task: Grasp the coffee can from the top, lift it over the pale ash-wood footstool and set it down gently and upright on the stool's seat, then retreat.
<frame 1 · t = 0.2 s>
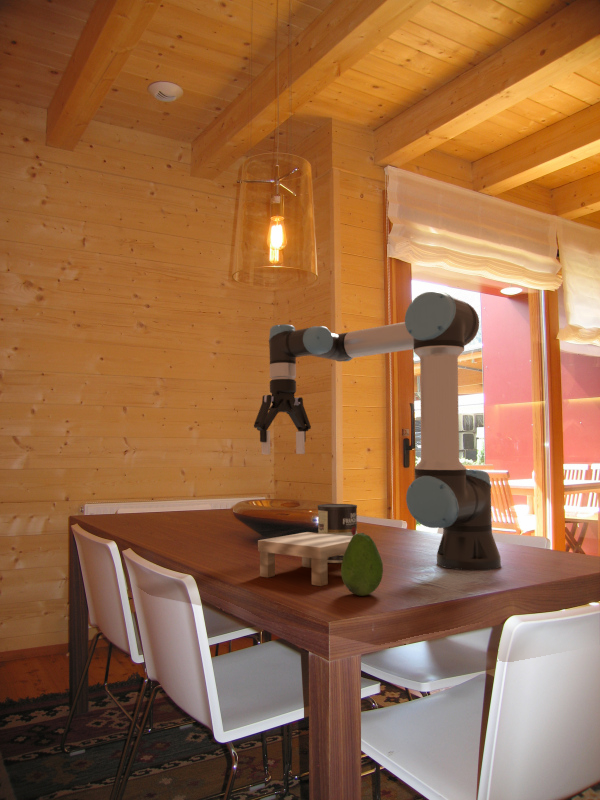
hand: (283, 454, 173), 27 cm above the table, tool pointing down, fingers open, 13 cm apart
fruit: (362, 596, 119), on the table
footstool: (313, 574, 140), on the table
coffee can: (338, 560, 159), on the table
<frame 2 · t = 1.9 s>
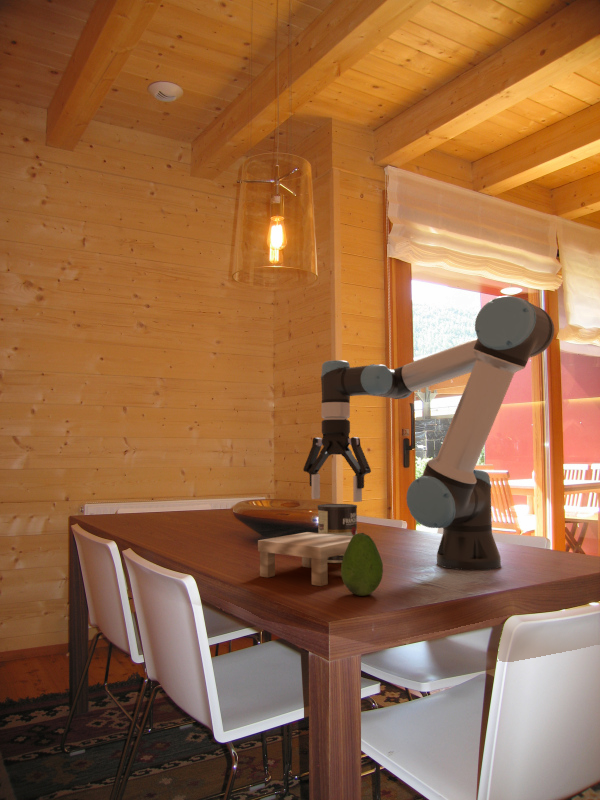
hand: (336, 500, 160), 15 cm above the table, tool pointing down, fingers open, 13 cm apart
nothing on the table moved.
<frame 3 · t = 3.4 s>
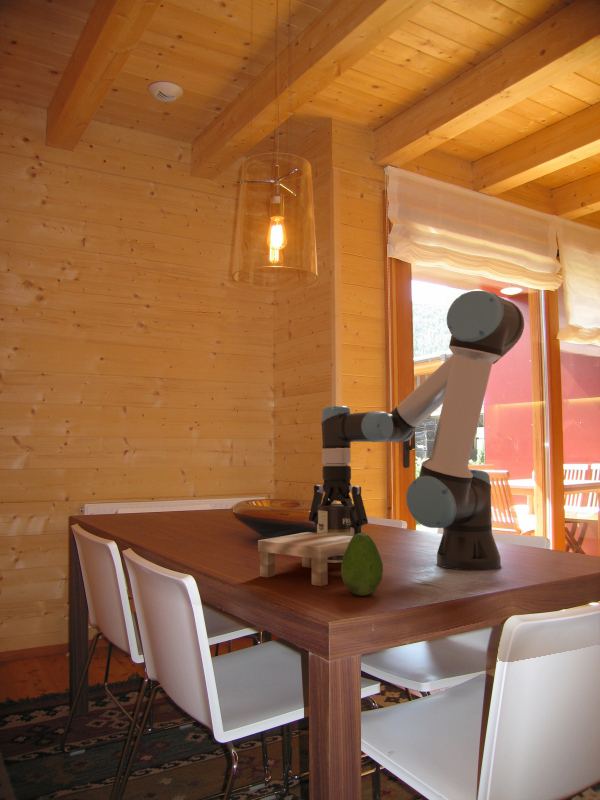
hand: (337, 550, 159), 2 cm above the table, tool pointing down, fingers closed on coffee can, 10 cm apart
coffee can: (338, 560, 159), on the table, touching gripper
everything else where it was.
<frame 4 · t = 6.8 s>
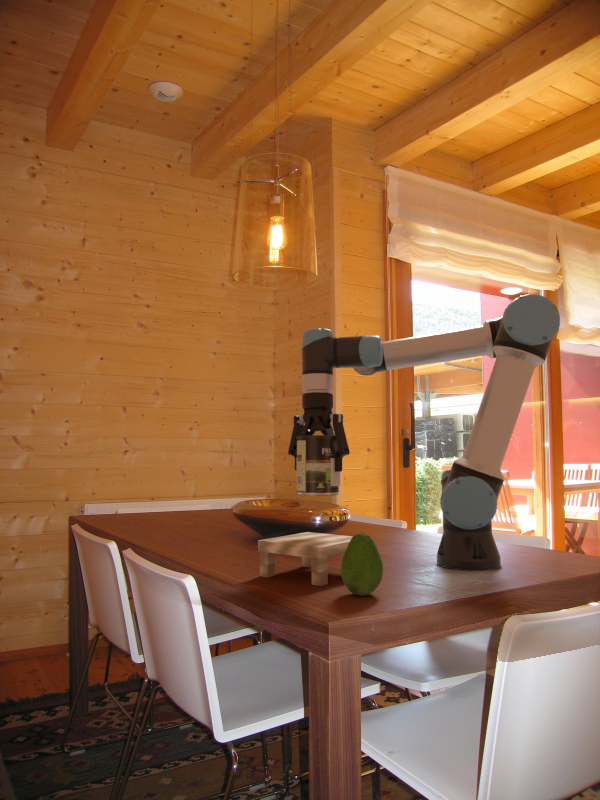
hand: (317, 485, 147), 20 cm above the table, tool pointing down, fingers closed on coffee can, 10 cm apart
coffee can: (317, 495, 146), point 18 cm above the table, touching gripper
everything else where it was.
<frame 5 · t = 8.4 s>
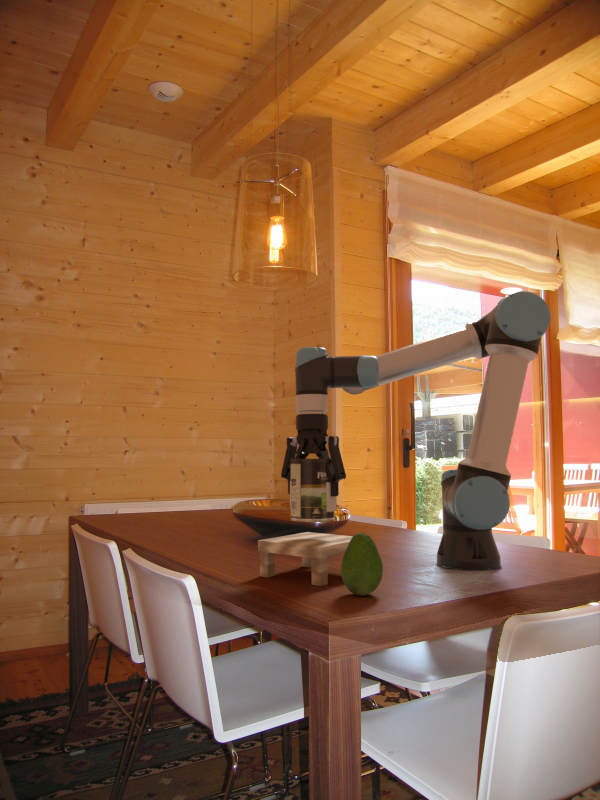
hand: (312, 510, 141), 15 cm above the table, tool pointing down, fingers closed on coffee can, 10 cm apart
coffee can: (312, 520, 141), point 12 cm above the table, touching gripper
everything else where it was.
when the fingers open (12 cm above the table, at t = 10.0 s): coffee can drops 1 cm, resting on footstool.
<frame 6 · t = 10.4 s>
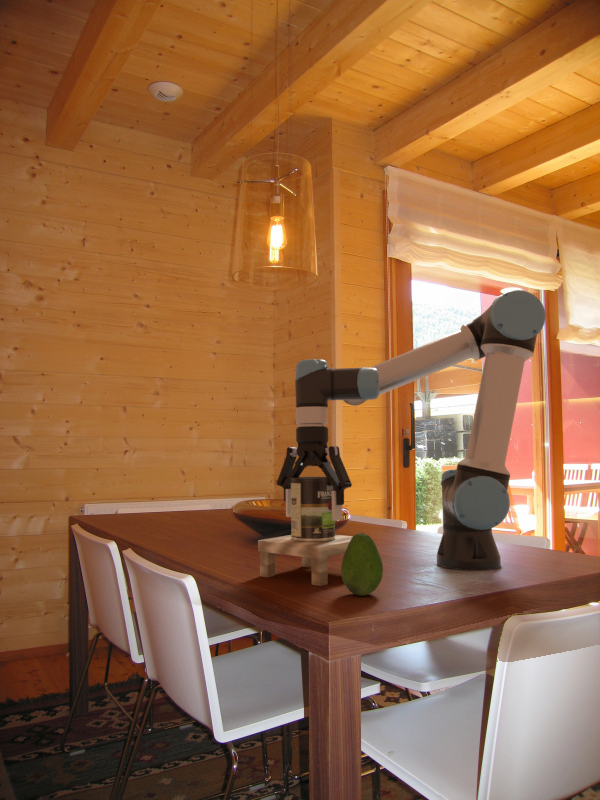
hand: (313, 518, 141), 13 cm above the table, tool pointing down, fingers open, 13 cm apart
coffee can: (313, 539, 141), point 8 cm above the table, touching footstool
everything else where it was.
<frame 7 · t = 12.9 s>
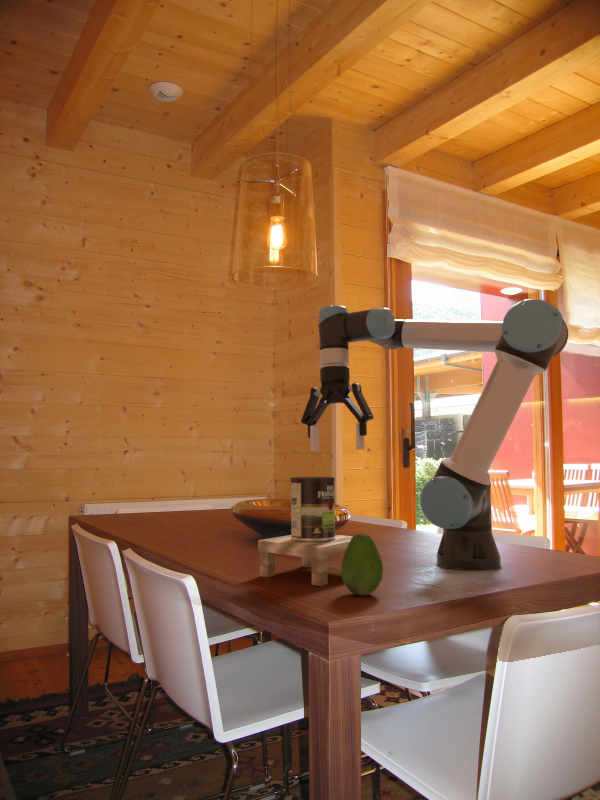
hand: (337, 450, 154), 28 cm above the table, tool pointing down, fingers open, 13 cm apart
nothing on the table moved.
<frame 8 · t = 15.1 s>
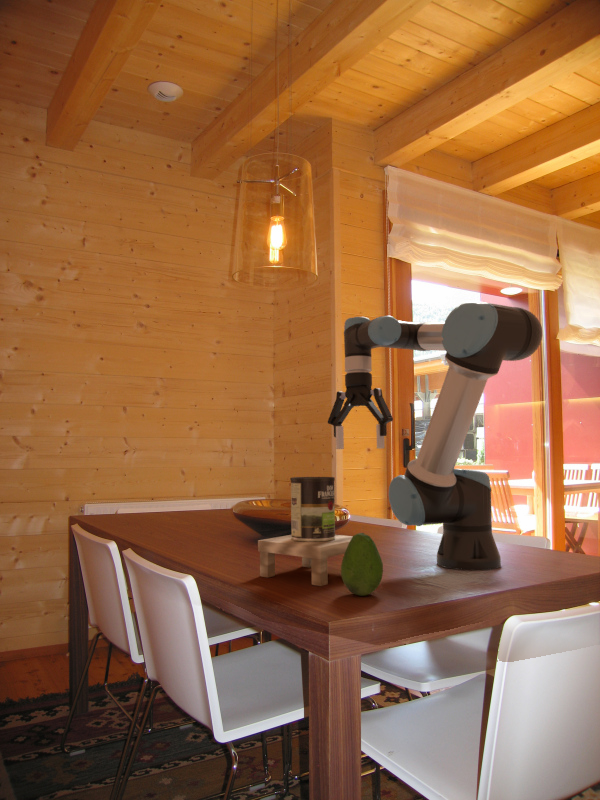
hand: (359, 448, 170), 29 cm above the table, tool pointing down, fingers open, 13 cm apart
nothing on the table moved.
at the end: coffee can inside the target area (0.1 cm from its centre), point 7.8 cm above the table; coffee can tilted 0°; the gripper is holding nothing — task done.
